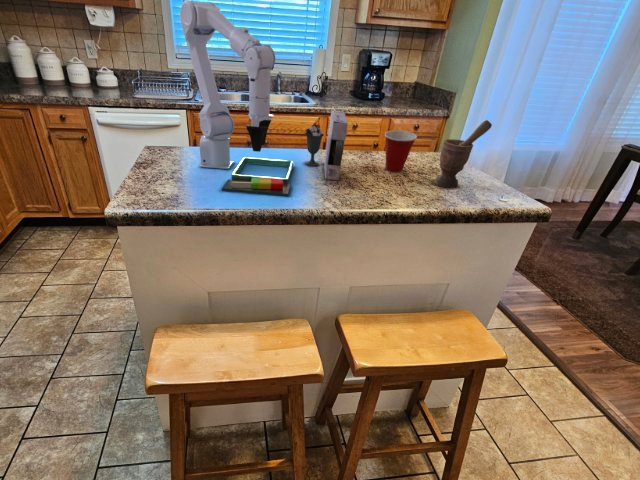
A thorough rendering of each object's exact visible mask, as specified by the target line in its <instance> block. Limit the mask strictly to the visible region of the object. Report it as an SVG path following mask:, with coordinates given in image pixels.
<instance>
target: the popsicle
mask: <svg viewBox="0 0 640 480" xmlns="http://www.w3.org/2000/svg"><path fill="white" fill-rule="evenodd" d="M281 178H282V177H275V178H260V177H252V180H251V182H234V181H232V183H234V184H251V189H270V190H281V189H283V180H282V179H281Z"/></svg>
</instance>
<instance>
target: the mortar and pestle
mask: <svg viewBox="0 0 640 480" xmlns="http://www.w3.org/2000/svg"><path fill="white" fill-rule="evenodd" d="M492 126H493V124H492V123H491V122H490V121H489V120H488V119H486V120H483V121H482V122H481V123H480V124H479V125H478V126H477V127H476V129H475V130H473V132H472V133H471V134H470V135H469V136H468V137H467V138H466V139H465V140H463V139H457V138H455V139H454V138H445V139H444V140H443V144H442V147H441V151H440V155H439V167H440V170H441V174H439V175H437V176H436V177H435V178H434V181H433V183H434V184H435V185H437V186H439V187H443V188H448V189H449V188H457V187H458V186H459V179H457V175H458V173H460V172H462V171H463V169H464V167H465V166H466V164H467V162H468V161H469V159H470V156H471V153H472V151H473V147H474V144H473V143H474V142H476V141H477V140H478V139H479V138H480V137H482V136H483V135H485V134H486V133H487V132H489V130H490V129H491V128H492Z"/></svg>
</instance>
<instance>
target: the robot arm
mask: <svg viewBox="0 0 640 480" xmlns="http://www.w3.org/2000/svg"><path fill="white" fill-rule="evenodd" d="M178 18H179V21H180V25H181V28H182V32H183V36H184V39H185V41H186V46H187V50H188V54H189V57H190V60H191V65H192V69H193V70H194V75H195V79H196V82H197V86H198V89H199V93H200V96H201V101H202V103H203V107H202V108H201V110H200V111H199V113H198V116H199V122H200V123H199V126H200V132H201V133H202V134H203V135H202V136H201V137H200V139H199V156H200V157H199V158H200V166H199V167H200V168H209V169H221V170H229V169H230V168H231V167H232V165H233V164H234V161H233V160H231V154H230V153H231V151H230V150H231V149H230V148H231V147H230V146H231V145H230V138H231V137H232V134H233V132H234V130H235V121H234V118H233V117H232V115H231V114H230V110H229V107H227V106H226V105H225V104H224V103H223V102H221V97H220V93H219V91H218V85H217V82H216V78H215V75H214V71H213V67H212V64H211V63H212V62H211V60H210V56H209V51H208V47H207V44H208V42H209V41H210V40H211V39H212V37H213V35H214V34H215V32H217V33H219V34H220V35H221V36H223V37H224V38H225V39H227V41H229V47H230V49H231V50H232V51H234V52H235V54H237V55H238V56H239V57H240V58H241V59H242V60H243V61H244V65H245V67H246V70H247V73H246V74H247V77H248V81H249V82H248V96H249V97H248V101H249V102H248V118H249V119H250V120H251V121H250V123H246V125H245V129H246V130H247V133H248V135H249V138H250V143H251V148H252V151H253V152H258V153H260V152H261V151H262V146H265V144H266V140H267V136H268V135H267V134H268V130H269V127H270V125H271V123H272V119H274V114H270V106H271V105H270V102H271V100H270V99H271V70H273V68H274V67H275V64H276V55H275V51H274V49H273V48H272V47H271V45H270V44H262V43H261V40H260V39H258V38H255V37H254V36H253V35H251V33H250V32H249V29H248V28H247V27H244V26H242V27H239V26H238V27H236V26H235V25H234V24H233V23H232V22H231V21H230V20H229V19H228V18H227V17H226V16H225V15H224V14H223V13H222V11H221V8H220V7H218V6H217V5H216V4H215V3H213V2H199V1H191V0H184V1H183V2H182V4H181V6H180V10H179V14H178Z"/></svg>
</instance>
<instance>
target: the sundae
mask: <svg viewBox="0 0 640 480" xmlns="http://www.w3.org/2000/svg"><path fill="white" fill-rule="evenodd" d="M320 119H321V117H318V118H317V120H320ZM317 123H318V121H316V122H314V123H313V124H312V125H311V126H310V127H309V128H307V129H305V132H304V135H305V136H306V149H307V151H308V153H309V154H310V160H309V161H306V162H304V164H305V165H306V166H309V167H318V166H320V164H319V162H316V161H315V155H316V154H317V153H318V152H319V151H320V147H321V143H322V139H323V137H324V136H325V134H324V133H323V131H322V129H321V125H320V124H317Z"/></svg>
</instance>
